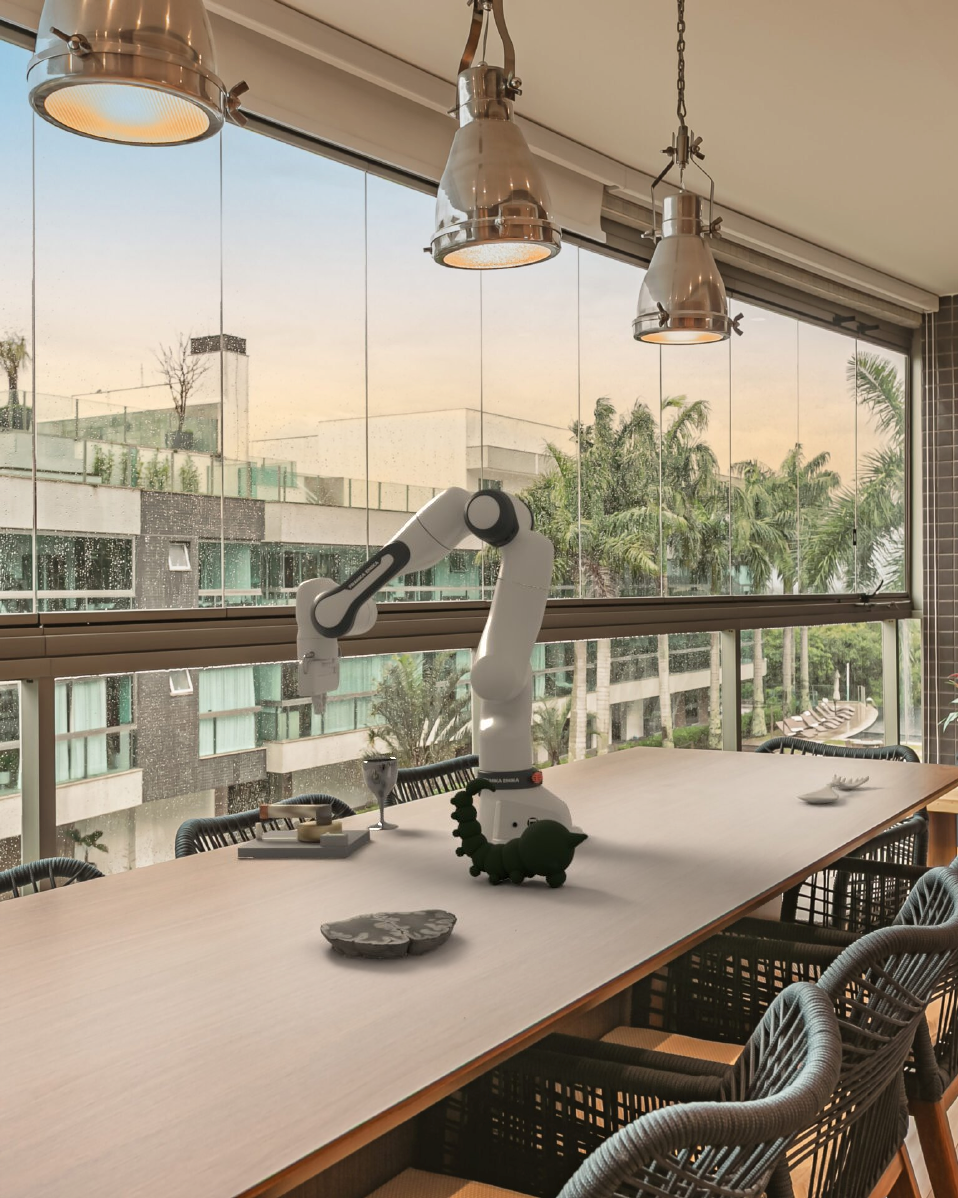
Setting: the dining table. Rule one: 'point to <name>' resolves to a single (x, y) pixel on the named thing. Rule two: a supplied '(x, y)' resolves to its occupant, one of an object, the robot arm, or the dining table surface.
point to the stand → (303, 844)
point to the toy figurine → (513, 844)
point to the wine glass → (380, 783)
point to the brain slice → (390, 933)
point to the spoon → (827, 792)
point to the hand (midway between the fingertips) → (320, 714)
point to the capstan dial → (307, 829)
